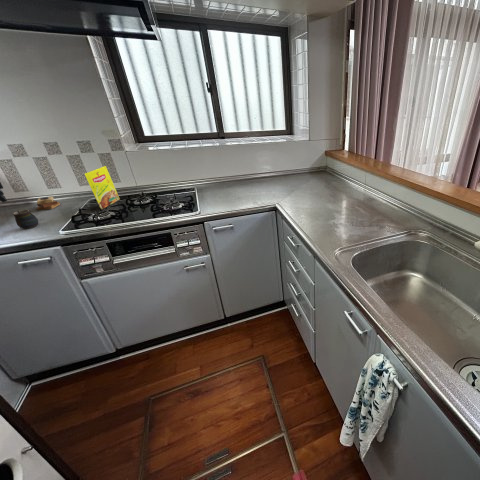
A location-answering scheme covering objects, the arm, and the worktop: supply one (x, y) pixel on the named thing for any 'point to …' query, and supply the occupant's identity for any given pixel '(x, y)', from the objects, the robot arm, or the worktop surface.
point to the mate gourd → (25, 219)
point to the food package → (102, 187)
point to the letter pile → (46, 203)
